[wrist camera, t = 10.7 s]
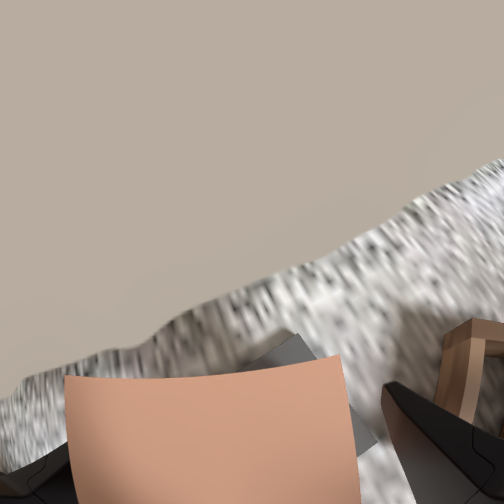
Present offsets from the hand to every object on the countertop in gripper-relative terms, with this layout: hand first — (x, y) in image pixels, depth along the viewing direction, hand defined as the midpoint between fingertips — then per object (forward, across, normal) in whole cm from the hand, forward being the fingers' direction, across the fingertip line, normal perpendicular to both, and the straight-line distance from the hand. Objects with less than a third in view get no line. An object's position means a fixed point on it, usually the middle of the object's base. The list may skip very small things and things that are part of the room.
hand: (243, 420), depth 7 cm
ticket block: (+5, 0, +7) cm, 8 cm away
